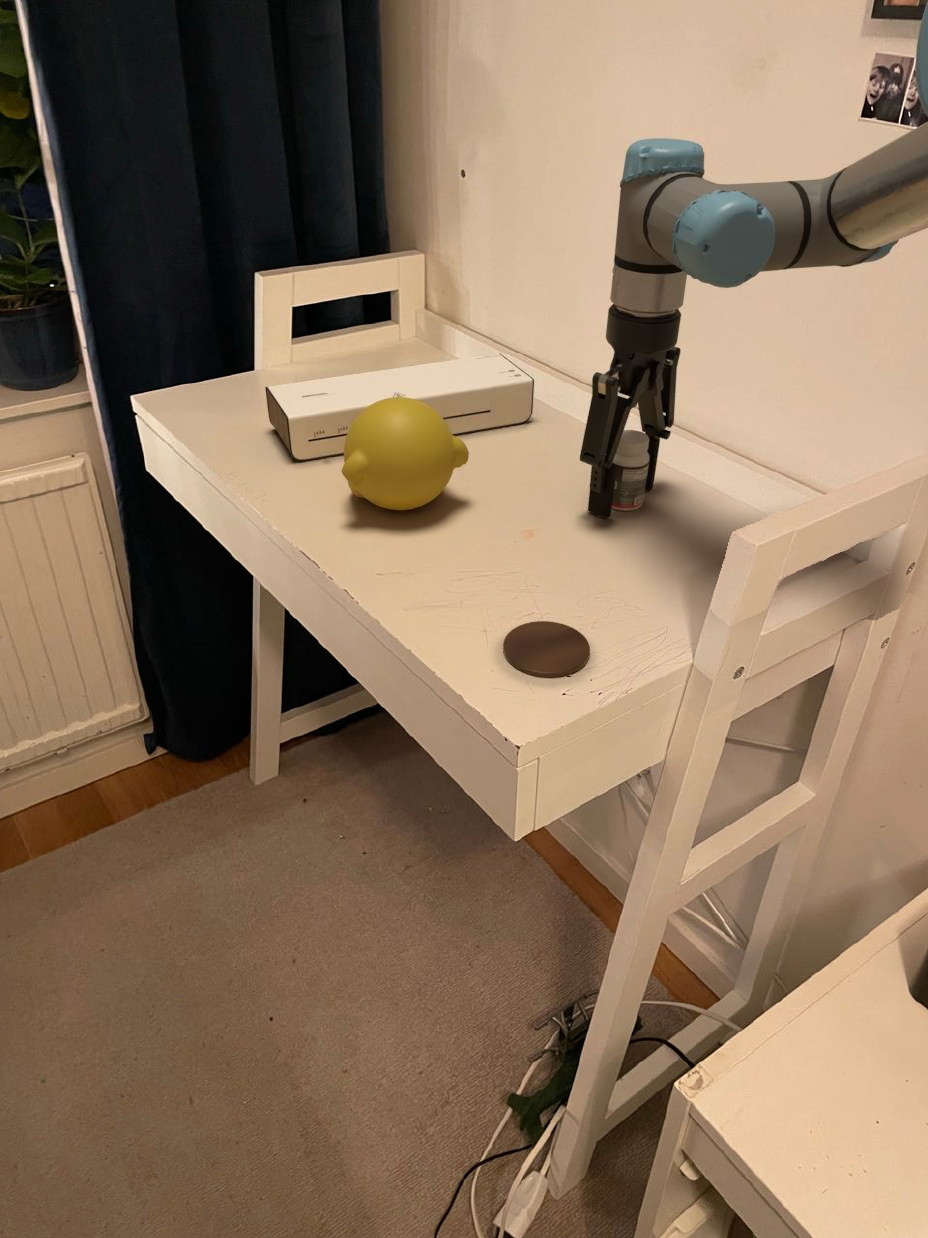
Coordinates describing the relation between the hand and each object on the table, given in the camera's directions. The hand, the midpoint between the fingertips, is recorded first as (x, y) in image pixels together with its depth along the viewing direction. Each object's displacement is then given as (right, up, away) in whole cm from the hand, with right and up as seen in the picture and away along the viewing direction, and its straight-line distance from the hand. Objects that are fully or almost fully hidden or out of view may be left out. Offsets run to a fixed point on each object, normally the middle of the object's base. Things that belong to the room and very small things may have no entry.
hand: (620, 499), depth 110 cm
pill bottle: (0, 0, 0) cm, 1 cm away
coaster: (-11, -17, -24) cm, 31 cm away
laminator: (-27, +12, +18) cm, 35 cm away
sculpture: (-26, -1, 0) cm, 26 cm away
